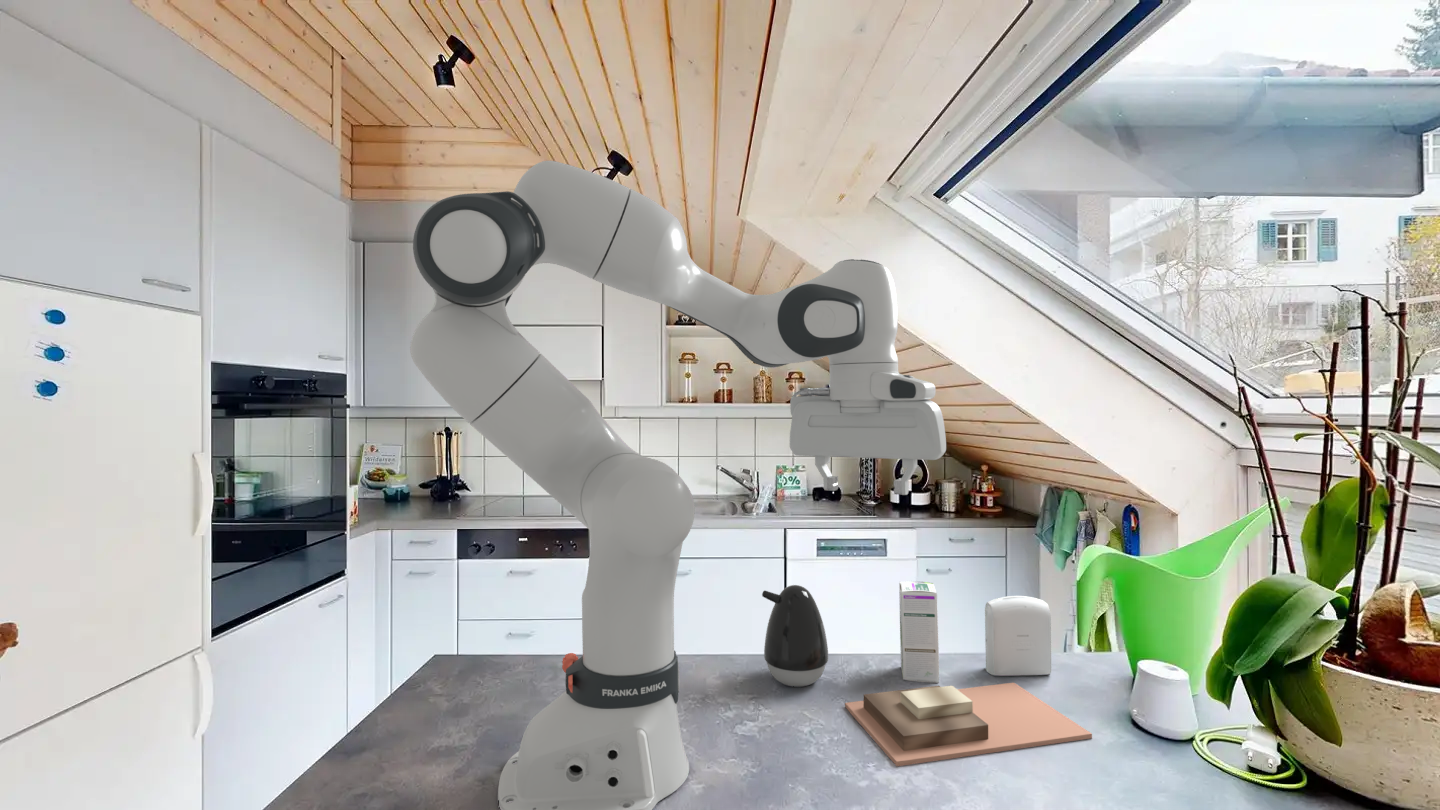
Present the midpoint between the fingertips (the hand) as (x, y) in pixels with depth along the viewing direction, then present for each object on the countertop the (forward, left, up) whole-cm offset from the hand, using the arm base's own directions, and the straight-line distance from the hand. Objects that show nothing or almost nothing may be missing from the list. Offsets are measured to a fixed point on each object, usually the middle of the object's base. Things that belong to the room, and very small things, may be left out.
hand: (865, 492), depth 88 cm
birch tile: (+11, +1, -30) cm, 32 cm away
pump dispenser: (-3, +20, -33) cm, 39 cm away
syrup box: (+17, +17, -33) cm, 41 cm away
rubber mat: (+15, +1, -33) cm, 36 cm away
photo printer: (+33, +14, -33) cm, 49 cm away
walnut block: (+9, +1, -33) cm, 34 cm away
